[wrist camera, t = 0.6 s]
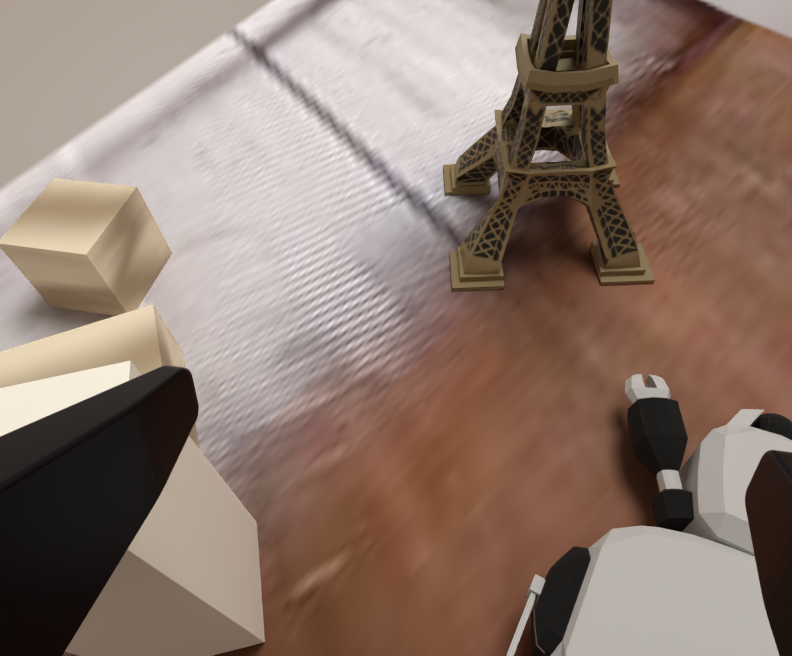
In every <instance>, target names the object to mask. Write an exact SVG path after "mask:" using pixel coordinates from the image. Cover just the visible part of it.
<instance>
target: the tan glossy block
mask: <svg viewBox="0 0 792 656" xmlns="http://www.w3.org/2000/svg"><path fill="white" fill-rule="evenodd" d="M126 361H131V362H132V363H133V364H134V365H135V367H136V368H137V369H138V371H139V372H140V373H141V374H142V375H143V374H145V373H147V372H150V371H152V370H154V369H157V368H159V367H161V366H165V365H171V366H178V367H185V361H184V356H183V351H182V349H181V348H180V346H179V344H178V343H177V341H176V340H175V338H174V337H173V335H172V333H171V332H170V330H169V329H168V327H167V326H166V324H165V322H164V321H163V319H162V318H161V316H160V315H159V313H158V311H157V310H156V308H155V307H154V305H153V304H152V305H149V306H146V307H143V308H140V309H136V310H133V311H130V312H127V313H123V314H120V315H117V316H114V317H111V318H107V319H104V320H101V321H98V322H94V323H91V324H88V325H85V326H81V327H78V328H75V329H72V330H69V331H65V332H62V333H59V334H56V335H52V336H49V337H46V338H43V339H40V340H36V341H33V342H30V343H27V344H23V345H20V346H17V347H14V348H10V349H7V350H4V351H1V352H0V388H3V387H8V386H13V385H17V384H22V383H27V382H32V381H36V380H41V379H46V378H50V377H55V376H60V375H65V374H69V373H74V372H79V371H83V370H88V369H93V368H98V367H102V366H107V365H112V364H117V363H121V362H126ZM185 368H186V367H185ZM189 436H190V438H191V439H192V440H193V441H194V443H195V444H196V445H197V447H198V448H199V449H200V447H199V442H198V436H197V430H196V424H194V426H193V428H192V430H191V432H190V434H189Z"/></svg>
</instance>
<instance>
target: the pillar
mask: <svg viewBox="0 0 792 656" xmlns="http://www.w3.org/2000/svg"><path fill="white" fill-rule="evenodd" d="M141 375H142V374H141V373H140V372H139V371H138V369H137V368H136V367H135V365H134V364H133V363H132V362H131V361H126V362H121V363H117V364H112V365H107V366H102V367H98V368H93V369H88V370H83V371H79V372H74V373H69V374H65V375H60V376H55V377H50V378H46V379H41V380H36V381H32V382H27V383H22V384H17V385H13V386H8V387H3V388H0V436H2V435H5V434H7V433H9V432H12V431H14V430H16V429H18V428H21V427H23V426H25V425H28V424H30V423H32V422H35V421H37V420H39V419H41V418H44V417H46V416H48V415H51V414H53V413H55V412H58V411H60V410H62V409H65V408H67V407H69V406H71V405H74V404H76V403H78V402H81V401H83V400H85V399H88V398H90V397H92V396H94V395H97V394H99V393H101V392H104V391H106V390H108V389H111V388H113V387H115V386H117V385H120V384H122V383H124V382H127V381H129V380H131V379H134V378H136V377H138V376H141ZM264 642H265V636H264V622H263V607H262V593H261V578H260V564H259V549H258V534H257V522H256V521H255V520H254V519H253V517H252V516H251V515H250V513H249V512H248V511H247V510H246V508H245V507H244V506H243V504H242V503H241V502H240V501H239V499H238V498H237V497H236V495H235V494H234V493H233V492H232V490H231V489H230V488H229V486H228V485H227V484H226V483H225V481H224V480H223V479H222V477H221V476H220V475H219V474H218V472H217V471H216V470H215V468H214V467H213V466H212V465H211V463H210V462H209V461H208V459H207V458H206V457H205V456H204V454H203V453H202V452H201V450H200V449H199V448H198V447H197V445H196V444H195V443H194V441H193V440H192V439H191V438H190V436H189V437H188V439H187V441H186V443H185V445H184V447H183V449H182V451H181V453H180V456H179V458H178V460H177V462H176V464H175V466H174V468H173V470H172V472H171V474H170V477H169V479H168V481H167V483H166V485H165V487H164V489H163V491H162V493H161V495H160V496H159V498H158V500H157V501H156V503H155V505H154V507H153V508H152V510H151V512H150V513H149V515H148V517H147V518H146V520H145V521H144V523H143V525H142V526H141V528H140V530H139V531H138V533H137V534H136V536H135V538H134V539H133V541H132V543H131V544H130V546H129V548H128V549H127V551H126V552H125V554H124V556H123V557H122V559H121V561H120V562H119V564H118V566H117V567H116V569H115V570H114V572H113V574H112V575H111V577H110V579H109V580H108V582H107V583H106V585H105V587H104V588H103V590H102V592H101V593H100V595H99V597H98V598H97V600H96V601H95V603H94V605H93V606H92V608H91V610H90V611H89V613H88V615H87V616H86V618H85V619H84V621H83V623H82V624H81V626H80V628H79V629H78V631H77V632H76V634H75V636H74V637H73V639H72V641H71V642H70V644H69V646H68V647H67V649H66V650H65V652H68V653H71V654H75V655H78V656H213V655H217V654H221V653H225V652H229V651H232V650H236V649H240V648H244V647H248V646H252V645H256V644H260V643H264Z"/></svg>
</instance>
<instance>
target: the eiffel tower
mask: <svg viewBox="0 0 792 656" xmlns="http://www.w3.org/2000/svg"><path fill="white" fill-rule="evenodd" d="M612 1H613V0H579V7H578V19H577V30H576V35H573V36H565V35H566V31H567V27H568V23H569V19H570V15H571V11H572V7H573V4H574V0H540V1H539V5H538V9H537V13H536V17H535V21H534V25H533V29H532V33H531V35H527V34H520V37H519V40H518V42H517V45H516V47H515V52H516V61H517V69H518V76H517V79H516V82H515V85H514V89H513V92H512V95H511V97H510V99H509V101H508V102H507V104H506V106H505V108H504V109H503V111H501V110H495V120H496V126H494V127H493V128H492V129H491V130H490V131H488V132H487V133H486V134H485V135H484V136H482V137H481V138H480V139H479V140H478V141H477V142H475V143H474V144H473V145H472V146H471V147H470V148H469V149H468V150H466V151H465V152H464V153H463V154H462V155H461V156H460V157H459V158H458V160H457V162H456V164H452V165H443V169H444V183H445V196H449V195H470V194H490V187H491V186H490V179H489V178H491V177H492V176H493V175H494V174H495V173H496V172H497V173H498V186H499V199H498V200H497V201H496V203H495V204H494V205H493V206H492V207H491V209H490V210H489V211H488V212H487V213H486V214H485V216H484V217H483V218H482V219H481V220H480V222H479V223H478V224H477V225H476V226H475V228H474V229H473V230H472V231H471V232H470V233H469V235H468V236H467V237H466V238H465V239H464V241H463V242H462V243H461V247H458V250H457V251H450V267H451V281H452V291H466V290H491V289H504V281H503V278H504V274H503V267H502V258H503V255H504V251H505V248H506V245H507V242H508V239H509V236H510V232H511V229H512V226H513V223H514V220H515V216H516V213H517V210H518V208H520V207H522V206H524V205H526V204H527V203H530V202H533V201H535V200H538V199H541V198H545V197H550V196H566V197H570V198H574V199H575V200H577V201H579V202H580V203H582V204H584V205H585V206H586V209H587V211H588V214H589V217H590V220H591V222H592V225H593V228H594V231H595V233H596V236H597V239H598V241H592V243H591V247H590V250H591V254H592V257H593V261H594V264H595V268H596V271H597V275H598V278H599V282H600V285H621V284H647V283H654V281H655V279H654V276H653V274H652V271H651V268H650V265H649V263H648V260H647V257H646V254H645V252H644V249H643V246H642V243H637V242H636V237H635V234H634V232H633V230H632V228H631V226H630V224H629V222H628V220H627V218H626V216H625V214H624V212H623V210H622V208H621V205H620V203H619V201H618V198H617V196H616V193H615V191H614V189H613V188H616V187H619V186H620V183H619V180H618V177H617V174H616V172H615V169H614V168H615V167H616V166H617V165H616V163H615V161H614V160H613V158H612V156H611V154H610V151H609V148H608V145H607V143H606V140H605V112H606V91H607V89H608V87H609V85H613V84H617V83H618V64H617V63H616V61H615V60H614V59H613V58H612V56H611V55H610V52H609V50H608V41H609V31H610V21H611V11H612ZM558 105H572V109H559V110H546V106H558ZM537 150H552V151H559V152H560V153H561V154H563V155H564V156H566V157H567V158H568V159H566V161H562V162H540V163H531V161H532V158H533V155H534V152H535V151H537Z"/></svg>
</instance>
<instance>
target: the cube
mask: <svg viewBox="0 0 792 656" xmlns="http://www.w3.org/2000/svg"><path fill="white" fill-rule="evenodd" d="M0 248H1V249H2V250H3V251H4V252H5V253H6V255H7V256H8V257H9V258H10V259H11V260H12V262H13V263H14V264H15V265H16V266H17V267H18V269H19V270H20V271H21V272H22V273H23V274H24V276H25V277H26V278H27V279H28V280H29V281H30V283H31V284H32V285H33V286H34V287H35V288H36V289H37V291H38V292H39V293H40V294H41V295H42V296H43V298H44V299H45V300H46V301H47V302H48V303H49V305H50V306H51V307H56V308H62V309H69V310H76V311H83V312H90V313H96V314H103V315H110V316H117V315H120V314H123V313H127V312H130V311H133V310H136V309H137V308H138V307H139V305H140V304H141V302H142V301H143V299H144V297H145V296H146V294H147V293H148V291H149V289H150V288H151V286H152V285H153V283H154V281H155V280H156V278H157V277H158V275H159V273H160V272H161V270H162V269H163V267H164V265H165V264H166V262H167V261H168V259H169V257H170V256H171V254H172V252H171V250H170V248H169V246H168V244H167V243H166V241H165V239H164V237H163V235H162V233H161V231H160V229H159V228H158V226H157V224H156V222H155V220H154V218H153V216H152V214H151V213H150V211H149V209H148V207H147V205H146V203H145V201H144V199H143V197H142V196H141V194H140V192H139V190H138V188H137V187H134V186H124V185H114V184H104V183H94V182H84V181H74V180H64V179H55V178H54V179H53V181H52V182H51V183H50V184H49V185H48V186H47V187H46V188H45V189H44V191H43V192H42V193H41V194H40V195H39V196H38V197H37V198H36V200H35V201H34V202H33V203H32V204H31V205H30V206H29V207H28V209H27V210H26V211H25V212H24V213H23V214H22V215H21V216H20V218H19V219H18V220H17V221H16V222H15V223H14V224H13V225H12V227H11V228H10V229H9V230H8V231H7V232H6V233H5V234H4V235H3V237H2V238H1V239H0Z"/></svg>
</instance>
